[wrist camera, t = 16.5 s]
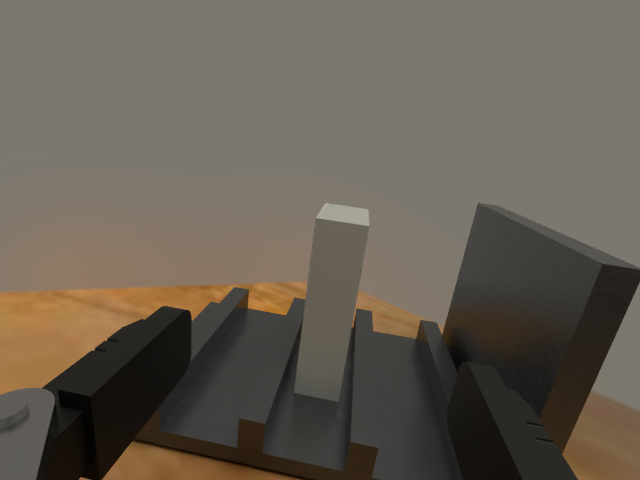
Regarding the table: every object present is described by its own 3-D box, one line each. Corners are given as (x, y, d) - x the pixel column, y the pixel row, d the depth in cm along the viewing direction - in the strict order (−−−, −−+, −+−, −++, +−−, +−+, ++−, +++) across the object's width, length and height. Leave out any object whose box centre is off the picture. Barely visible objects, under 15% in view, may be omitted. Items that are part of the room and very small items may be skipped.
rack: (452, 351, 30) (494, 204, 26) (528, 527, 16) (645, 270, 12) (213, 308, 32) (218, 165, 28) (99, 430, 18) (75, 182, 14)
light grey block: (343, 355, 26) (368, 209, 22) (338, 402, 21) (369, 226, 18) (306, 348, 26) (325, 203, 23) (293, 393, 21) (315, 217, 18)
